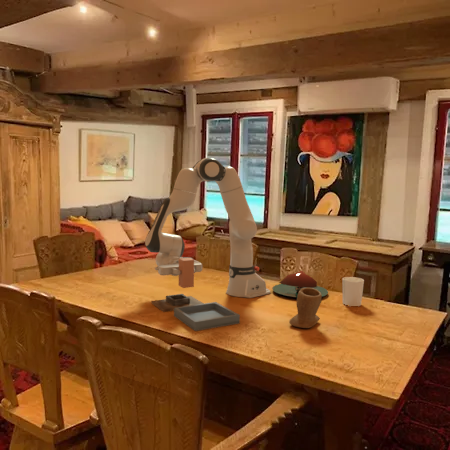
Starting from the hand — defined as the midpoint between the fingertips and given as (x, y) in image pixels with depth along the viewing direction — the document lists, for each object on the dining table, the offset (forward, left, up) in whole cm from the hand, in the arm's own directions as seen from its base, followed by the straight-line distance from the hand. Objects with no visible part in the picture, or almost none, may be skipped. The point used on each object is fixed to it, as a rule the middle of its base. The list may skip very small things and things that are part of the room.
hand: (187, 272), depth 203 cm
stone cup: (-35, +39, -17) cm, 55 cm away
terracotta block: (0, -1, -6) cm, 7 cm away
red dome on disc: (-63, 0, -17) cm, 66 cm away
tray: (-1, +16, -17) cm, 23 cm away
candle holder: (-73, +26, -17) cm, 80 cm away
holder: (+1, -8, -17) cm, 19 cm away
